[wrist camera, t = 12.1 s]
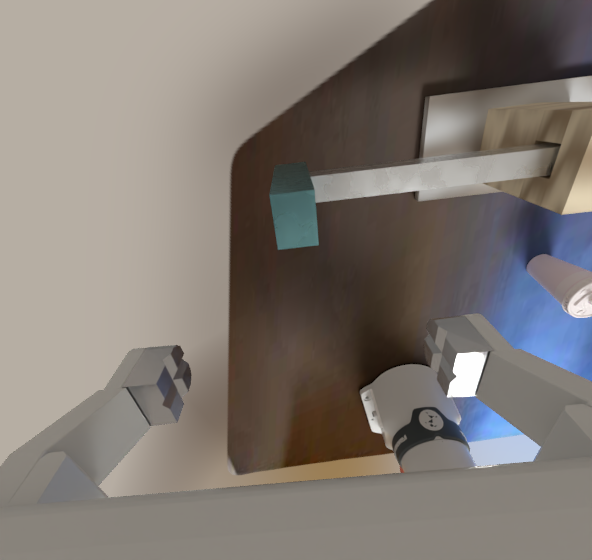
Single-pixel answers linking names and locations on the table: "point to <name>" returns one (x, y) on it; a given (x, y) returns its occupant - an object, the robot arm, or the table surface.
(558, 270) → the smoothie
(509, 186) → the stand
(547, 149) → the shaft
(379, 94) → the table surface
